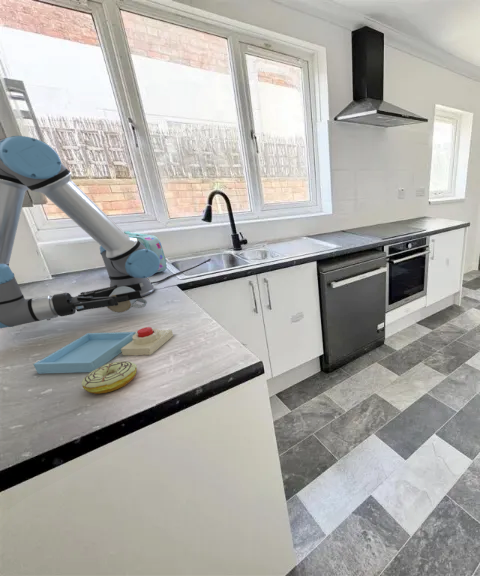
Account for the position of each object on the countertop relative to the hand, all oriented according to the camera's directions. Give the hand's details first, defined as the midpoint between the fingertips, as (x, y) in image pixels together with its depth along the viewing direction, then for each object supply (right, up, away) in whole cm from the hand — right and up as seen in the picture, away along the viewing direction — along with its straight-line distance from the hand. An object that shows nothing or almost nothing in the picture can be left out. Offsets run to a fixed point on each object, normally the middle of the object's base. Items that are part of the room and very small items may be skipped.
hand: (140, 290), depth 114 cm
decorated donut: (+22, -23, -36) cm, 48 cm away
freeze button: (+18, -13, -21) cm, 30 cm away
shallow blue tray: (+5, -19, -24) cm, 31 cm away
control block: (+18, -17, -19) cm, 31 cm away
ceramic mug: (-4, -7, 0) cm, 8 cm away
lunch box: (-38, +9, +50) cm, 64 cm away
